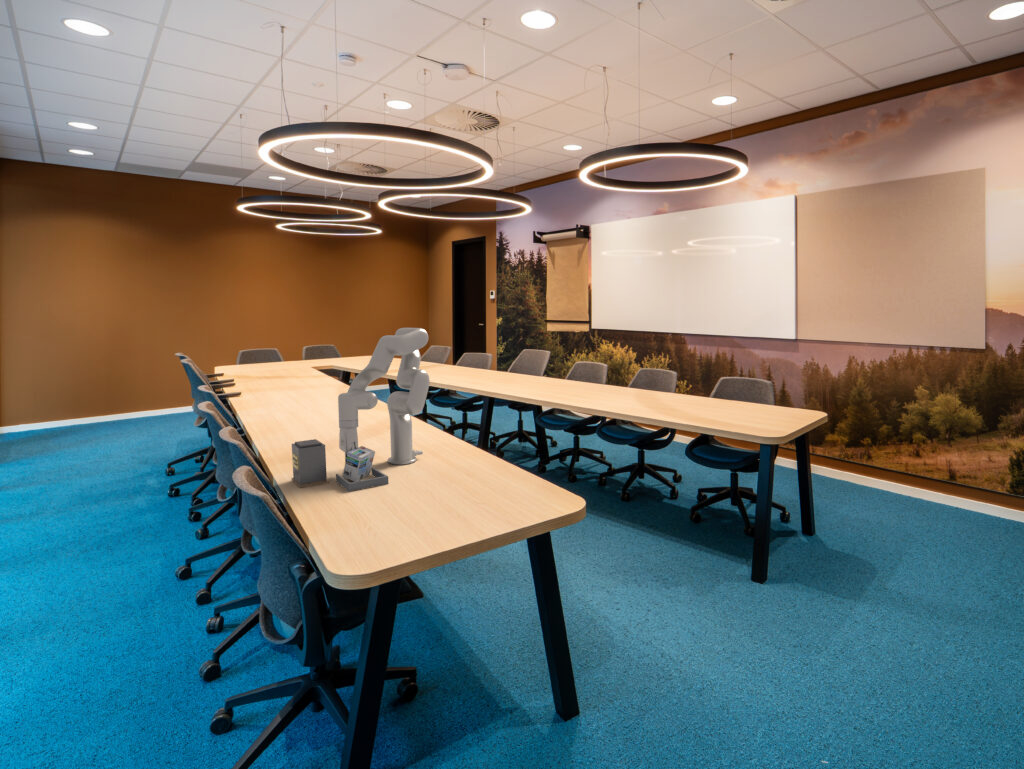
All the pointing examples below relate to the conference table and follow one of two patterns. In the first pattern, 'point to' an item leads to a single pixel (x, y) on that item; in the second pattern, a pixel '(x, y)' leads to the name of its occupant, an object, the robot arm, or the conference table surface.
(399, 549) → the conference table surface
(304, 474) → the block
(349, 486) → the bay
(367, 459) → the light bulb box
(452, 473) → the conference table surface
